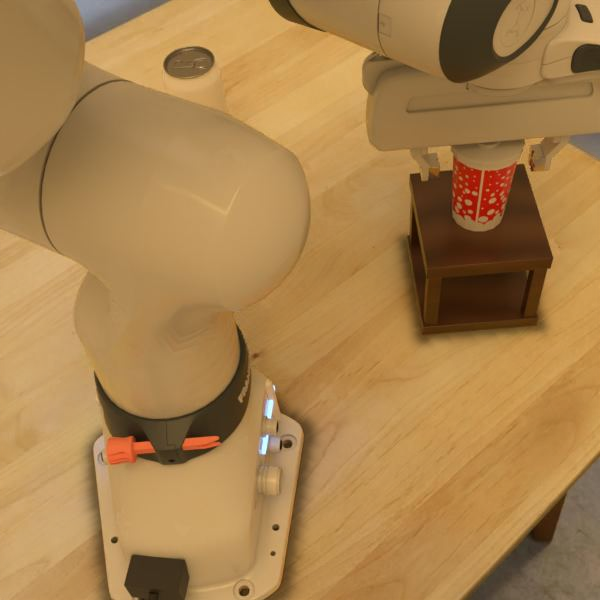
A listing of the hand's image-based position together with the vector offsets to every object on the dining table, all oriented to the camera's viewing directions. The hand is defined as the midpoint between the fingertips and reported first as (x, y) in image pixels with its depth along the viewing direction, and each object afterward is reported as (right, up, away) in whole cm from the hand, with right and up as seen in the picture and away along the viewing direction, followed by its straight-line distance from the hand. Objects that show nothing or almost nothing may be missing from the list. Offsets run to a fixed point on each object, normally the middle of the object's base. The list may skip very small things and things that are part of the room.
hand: (483, 171), depth 74 cm
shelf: (+1, -9, +12) cm, 15 cm away
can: (-27, +7, +28) cm, 39 cm away
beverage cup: (0, -3, +4) cm, 6 cm away
